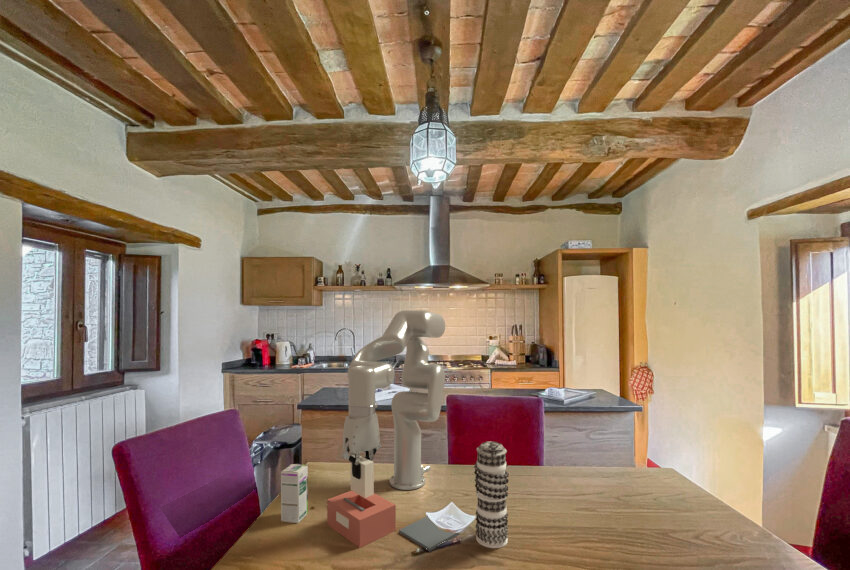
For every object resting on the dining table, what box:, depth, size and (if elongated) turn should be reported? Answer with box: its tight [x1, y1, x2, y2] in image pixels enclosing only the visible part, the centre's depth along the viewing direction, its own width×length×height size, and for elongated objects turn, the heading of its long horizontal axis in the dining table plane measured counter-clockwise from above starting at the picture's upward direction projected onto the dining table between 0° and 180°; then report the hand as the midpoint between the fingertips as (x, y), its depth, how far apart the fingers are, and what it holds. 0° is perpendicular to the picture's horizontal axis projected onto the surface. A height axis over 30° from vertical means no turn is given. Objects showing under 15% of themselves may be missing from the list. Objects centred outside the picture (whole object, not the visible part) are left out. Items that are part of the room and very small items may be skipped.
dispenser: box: [326, 490, 397, 549], centre depth 118 cm, size 12×16×7 cm
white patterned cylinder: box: [473, 440, 509, 549], centre depth 113 cm, size 9×9×25 cm
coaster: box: [398, 515, 460, 552], centre depth 115 cm, size 12×12×1 cm
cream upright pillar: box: [350, 455, 375, 498], centre depth 119 cm, size 3×7×9 cm, turn 44°
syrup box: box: [280, 463, 309, 524], centre depth 123 cm, size 6×6×14 cm
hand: (362, 474), depth 119 cm, fingers closed on cream upright pillar, 3 cm apart
